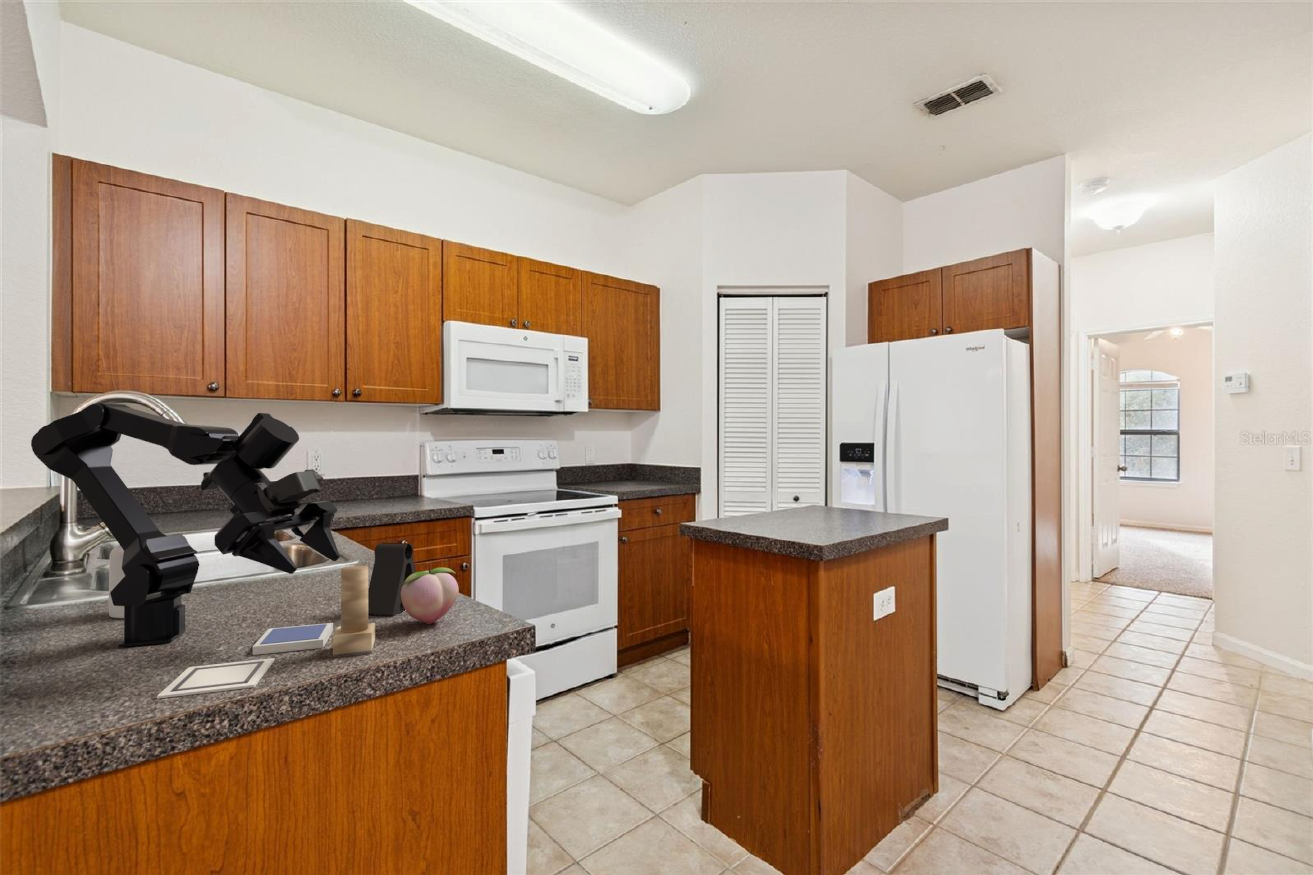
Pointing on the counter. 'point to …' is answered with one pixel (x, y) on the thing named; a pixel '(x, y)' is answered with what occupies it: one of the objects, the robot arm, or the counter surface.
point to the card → (217, 678)
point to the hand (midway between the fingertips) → (316, 565)
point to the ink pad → (293, 638)
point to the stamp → (354, 615)
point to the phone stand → (389, 578)
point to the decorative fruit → (429, 594)
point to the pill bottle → (115, 579)
